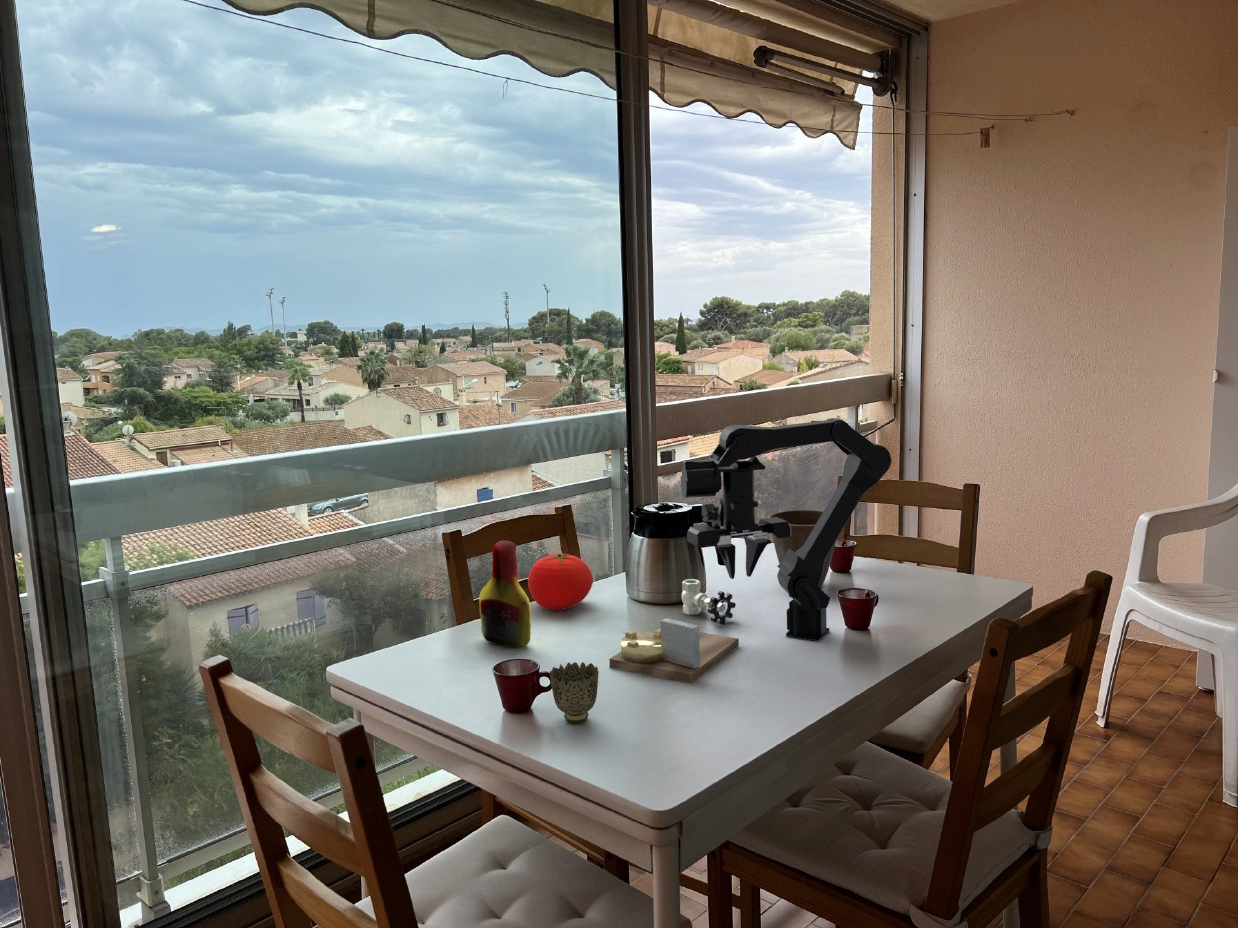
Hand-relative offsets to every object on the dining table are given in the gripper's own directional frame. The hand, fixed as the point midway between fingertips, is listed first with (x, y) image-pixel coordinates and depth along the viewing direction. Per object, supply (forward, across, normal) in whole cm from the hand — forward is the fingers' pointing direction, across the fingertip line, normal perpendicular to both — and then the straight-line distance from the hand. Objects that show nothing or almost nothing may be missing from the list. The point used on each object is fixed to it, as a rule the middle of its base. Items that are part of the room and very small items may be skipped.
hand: (740, 577), depth 168 cm
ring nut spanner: (+10, +19, +7) cm, 22 cm away
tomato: (+12, +26, -34) cm, 45 cm away
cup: (+12, +38, +22) cm, 45 cm away
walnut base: (+12, +14, +3) cm, 19 cm away
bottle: (+12, +41, -16) cm, 46 cm away
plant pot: (+12, -27, -24) cm, 38 cm away
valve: (+12, +1, -15) cm, 20 cm away
